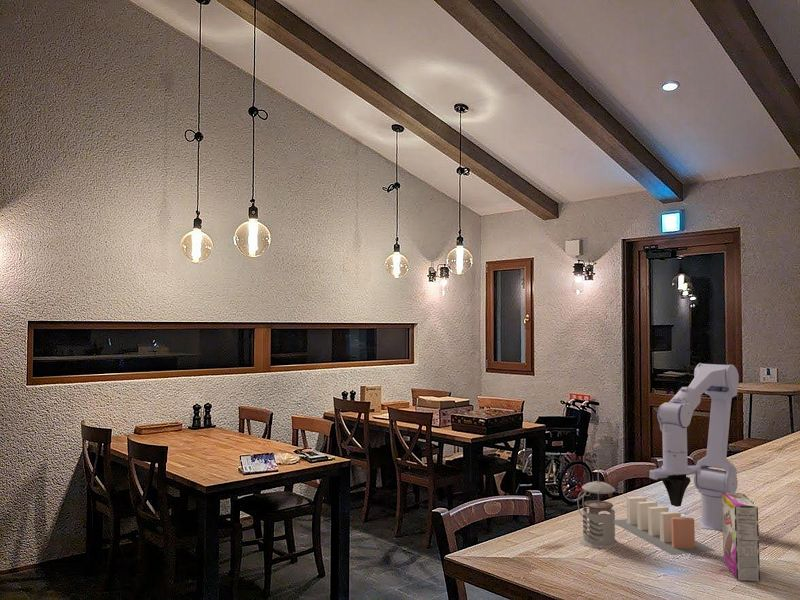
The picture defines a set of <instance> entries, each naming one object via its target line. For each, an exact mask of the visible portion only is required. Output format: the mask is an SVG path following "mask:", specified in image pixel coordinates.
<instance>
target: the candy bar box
mask: <svg viewBox="0 0 800 600" xmlns="http://www.w3.org/2000/svg"><path fill="white" fill-rule="evenodd" d="M722 519H723V530H722V542H723V543H722V544H723V546H722V547H723V563H724V564H725V565H726V567H727V568H728V570H729V571H730V572H731V574H732V575H733V577H734V578H735V580H737V581H738V582H739V581H740V582H748V583H749V582H750V583H753V582H754V583H761V570H760V569H761V566H760V563H761V562H760V561H761V560H760V535H759V532H760V530H759V527H760V526H759V506H757V505H756V504H755V503H754V502H753V501H752V500H751V499H750V498H749V497H747V496H746V495H745V494H744V493H743V492H742V493H741V492H735V493H728V492H724V493H722Z"/></svg>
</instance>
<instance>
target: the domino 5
mask: <svg viewBox="0 0 800 600" xmlns="http://www.w3.org/2000/svg"><path fill="white" fill-rule="evenodd" d="M695 529H696V528H695V519H694V518H693V517H682V516H681V517H671V530H672V547H673V548H693V549H695V541H696V540H695V539H696V537H695V534H696V531H695Z"/></svg>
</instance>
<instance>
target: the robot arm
mask: <svg viewBox="0 0 800 600" xmlns="http://www.w3.org/2000/svg"><path fill="white" fill-rule="evenodd" d="M693 371H694V372H693V375H694V378H693V379H692V380H691V382H690V383H689V385H688V386H682V387H681V388H680V389H679V390H678V392H676V394H674V396H673V397H672V398H671V399H670V400H669V401H668V402H664V403H662V404H660V405H659V407H658V409H657V414H656V415H657V416H656V417H657V421H658V423H659V430H660V432H661V433H662V434H661V435H662V465H661V467H658V468H654V469H650V470H649V479H651V480H654V481H655V480H659V479H660V480H661V482H662V483H663V485H664V487H665V490H666V492H667V494H668V497H669V502H670V505H671V506H673V507H681V506H682V504H683V503H682V502H683V499H684V496H685V492H686V490H687V488H688V486H689V485H690V483H691V478H690V477H689V476H690V475H692V476H693V478H692V480H693V484H694V487H695V488H696V489H697V491H698V493H700V501H701V503H700V504H701V505H700V506H701V508H700V511H701V515H700V516H701V518H699V519H698V523H699V525H700V527H701V529H702V530H712V531H723V519H722V493H724V492H728V493H737V488H738V485H739V484H738V483H739V482H738V480H739V479H738V476H737V475H738V471H737V468H736V466H735V465H734V464H733V463H732V462H731V461H730V460H729V459H728V458H727V457H728V456H727V454H728V444H729V443H728V441H729V432H730V431H729V430H730V420H731V408H732V399H733V398H734V397H736V396H738V391H739V379H740V374H739V372H738V369H737V368H736V366H735V365H734V364H715V363H714V364H712V363H702V362H699V363H698V364H697V365H696V366H695V368H694V370H693ZM703 394H705V395H708V396H709V398H710V399H711V403H710V414H709V415H710V416H709V425H708V434H707V435H708V437H707V446H706V455H705V456H704V457H702V458H701V459H699V460H697V462H696V464H695V465H689V464H688V432H687V431H688V427H689V426H690V424H691V420H692V417H693V415H694V411H695V410H696V408H698V406H699V405H700V404H701V402H702V399H701V396H702V395H703ZM715 468H716V469H715ZM720 469H721V470H720Z"/></svg>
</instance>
